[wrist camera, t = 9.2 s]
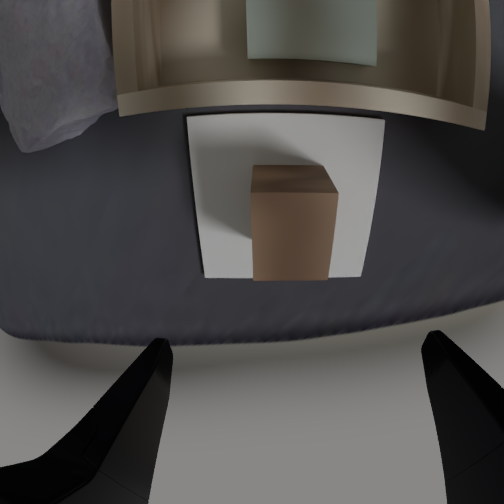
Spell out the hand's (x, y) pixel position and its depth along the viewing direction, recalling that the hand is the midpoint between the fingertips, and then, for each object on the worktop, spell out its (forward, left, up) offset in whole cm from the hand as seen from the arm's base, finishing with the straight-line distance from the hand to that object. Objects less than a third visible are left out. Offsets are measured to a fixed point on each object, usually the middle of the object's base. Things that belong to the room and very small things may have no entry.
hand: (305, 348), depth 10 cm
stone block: (+14, -11, -11) cm, 21 cm away
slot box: (-1, -12, -11) cm, 16 cm away
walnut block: (0, 0, -11) cm, 11 cm away
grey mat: (0, 0, -11) cm, 11 cm away
